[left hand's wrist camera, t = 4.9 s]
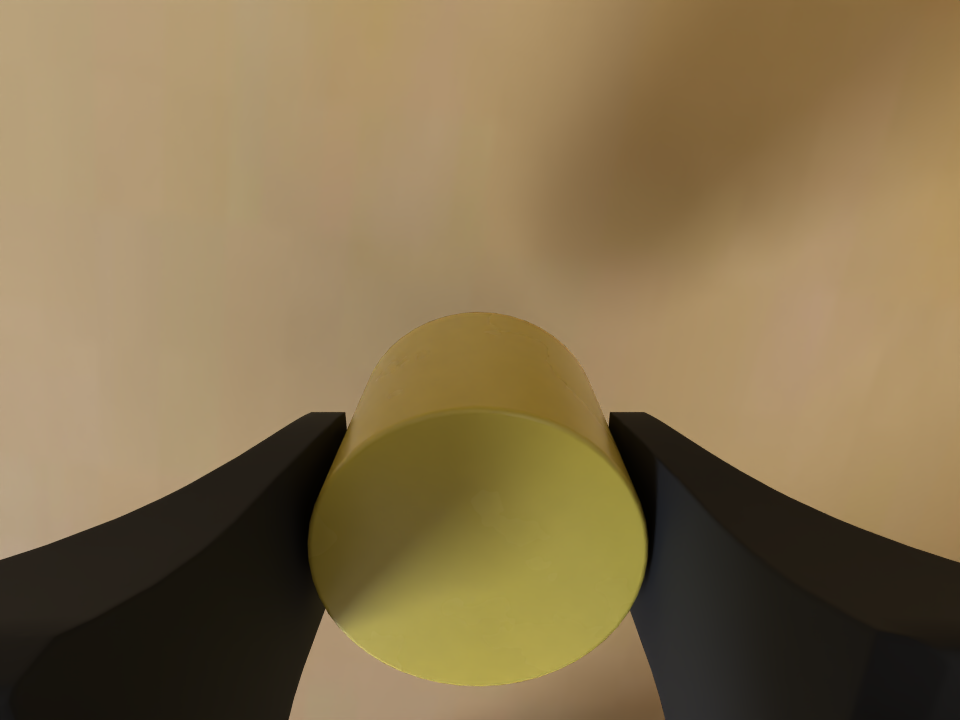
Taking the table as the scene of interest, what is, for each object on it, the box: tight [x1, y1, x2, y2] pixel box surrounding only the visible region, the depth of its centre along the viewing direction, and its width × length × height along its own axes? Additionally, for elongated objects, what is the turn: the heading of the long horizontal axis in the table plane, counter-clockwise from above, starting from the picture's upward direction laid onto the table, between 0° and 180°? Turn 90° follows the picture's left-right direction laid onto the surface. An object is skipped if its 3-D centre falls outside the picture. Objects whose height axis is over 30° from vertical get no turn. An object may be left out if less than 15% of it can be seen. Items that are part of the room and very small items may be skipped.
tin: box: [307, 312, 649, 686], centre depth 10 cm, size 5×5×4 cm
